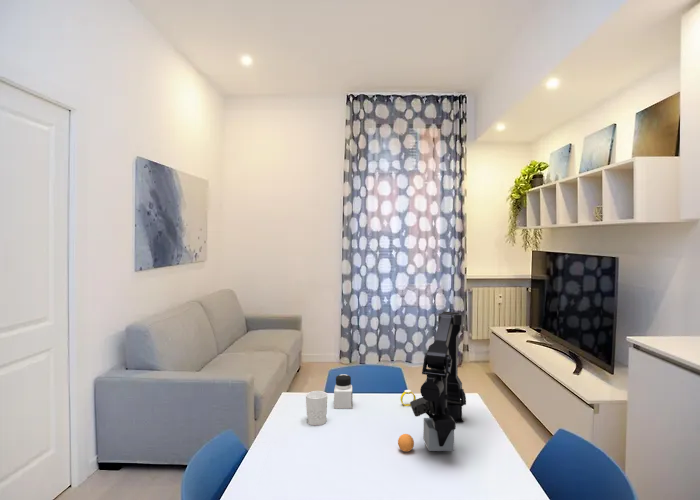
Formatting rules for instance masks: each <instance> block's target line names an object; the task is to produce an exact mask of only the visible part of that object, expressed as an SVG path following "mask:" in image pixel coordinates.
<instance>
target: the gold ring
mask: <svg viewBox="0 0 700 500" xmlns="http://www.w3.org/2000/svg"><path fill="white" fill-rule="evenodd" d="M403 391H404V392H402V394H401V395H400V402H401V404H402V405H403V406H404V407H411V405H410V403H407V404H405V403H404V402H403V397H404V396H405V395H409V394H412V396H413V400H416V399H417V398H416V395H415V393H414V392H412V390H411V389H405V390H403ZM413 400H412V401H413Z"/></svg>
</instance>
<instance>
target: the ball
mask: <svg viewBox="0 0 700 500" xmlns="http://www.w3.org/2000/svg"><path fill="white" fill-rule="evenodd" d="M397 445H398V448H399V449H400V450H401V451H403V452H410V451H412V450H413V448H414V447H415V440H414V438H413V437H412V436H411V435H410V434H408V433H403V434H401V435H400V436H399V438H398V439H397Z"/></svg>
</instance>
